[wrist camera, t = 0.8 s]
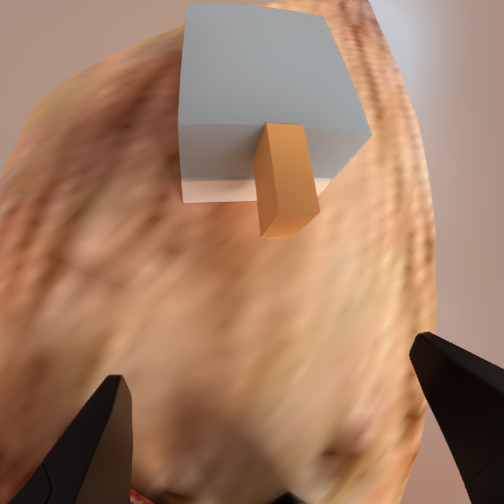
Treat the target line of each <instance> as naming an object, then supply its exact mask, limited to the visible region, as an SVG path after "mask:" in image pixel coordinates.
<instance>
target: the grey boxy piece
mask: <svg viewBox="0 0 504 504" xmlns="http://www.w3.org/2000/svg"><path fill="white" fill-rule="evenodd" d="M371 136H372V134H371V131H370V128H369V125H368V122H367V119H366V116H365V114H364V111H363V108H362V105H361V102H360V100H359V97H358V95H357V92H356V89H355V87H354V84H353V82H352V79H351V77H350V74H349V72H348V70H347V67H346V65H345V62H344V60H343V58H342V56H341V53H340V51H339V49H338V47H337V45H336V42H335V40H334V38H333V36H332V34H331V32H330V30H329V28H328V26H327V24H326V22H325V20H324V18H323V17H322V16H318V15H313V14H307V13H302V12H296V11H290V10H283V9H276V8H268V7H259V6H248V5H234V4H188V5H187V13H186V21H185V30H184V40H183V50H182V62H181V75H180V90H179V108H178V140H179V156H180V171H181V179H184V178H214V177H255V186H256V195H257V204H258V214H259V223H260V233H261V238H266V237H292V236H295V235H296V234H298V233H299V232H300V231H301V230H302V229H303V228H304V227H305V226H306V225H307V224H308V223H309V222H310V221H311V220H312V219H313V218H314V217H315V216H316V215H317V214H318V213H319V212H320V209H319V203H318V198H317V192H316V187H315V181H314V178H329V179H333V178H334V177H335V176H336V175H337V174H338V173H339V172H340V171H341V169H342V168H343V167H344V166H345V165H346V164H347V163H348V162H349V160H350V159H351V158H352V157H353V156H354V155H355V154H356V153H357V152H358V150H359V149H360V148H361V147H362V146H363V145H364V144H365V143H366V141H367V140H368V139H369V138H370V137H371Z"/></svg>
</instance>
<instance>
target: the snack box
mask: <svg viewBox="0 0 504 504" xmlns="http://www.w3.org/2000/svg"><path fill="white" fill-rule="evenodd" d="M130 504H156V503H154V502H152V501H151V500H149V499H147V498H146V497H144V496H143V495H141V494H140V493H138V492H137V491H135V490H134V489H132V488H131V497H130Z"/></svg>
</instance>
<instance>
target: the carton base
mask: <svg viewBox="0 0 504 504" xmlns="http://www.w3.org/2000/svg"><path fill="white" fill-rule="evenodd" d="M314 181H315V187H316V192H317V196H318V195H319V194H320V193H321V192H322V191H323V190H324V188H325V187H326V186H327V185H328V184H329V183H330V182H331V181H330V179H329V178H314ZM181 184H182V196H183V203H201V202H233V201H257V195H256V186H255V177H214V178H184V179H181Z"/></svg>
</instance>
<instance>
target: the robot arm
mask: <svg viewBox="0 0 504 504" xmlns="http://www.w3.org/2000/svg"><path fill="white" fill-rule="evenodd" d="M409 356H410V360H411V362H412V365H413V367H414V370H415V372H416V375H417V378H418V380H419V383H420V385H421V388H422V391H423V393H424V395H425V397H426V400H427V402H428V404H429V406H430V408H431V410H432V412H433V414H434V416H435V418H436V420H437V422H438V424H439V427H440V429H441V431H442V433H443V435H444V437H445V440H446V442H447V444H448V446H449V449H450V451H451V453H452V455H453V458H454V460H455V463H456V465H457V467H458V469H459V472H460V475H461V477H462V480H463V482H464V484H465V488H466V490H467V493H468V496H469V498H470V501H471V504H504V369H502V368H500V367H498V366H496V365H494V364H492V363H491V362H489V361H486V360H484V359H483V358H480V357H478V356H477V355H475V354H472V353H471V352H468V351H467V350H465V349H462V348H460V347H459V346H456V345H454V344H452V343H450V342H448V341H446V340H444V339H442V338H440V337H438V336H436V335H434V334H432V333H430V332H423V333H419V334H418V335H417V336H416V337H415V340H414V342H413V345H412V347H411V350H410V353H409ZM132 455H133V433H132V398H131V393H130V391H129V388H128V386H127V384H126V381H125V379H124V377H123V376H122V375H108V376H107V377H106V378H105V379H104V381H103V382H102V383H101V384H100V386H99V387H98V388H97V390H96V391H95V392H94V393H93V395H92V396H91V397H90V398H89V400H88V401H87V402H86V404H85V405H84V406H83V407H82V409H81V410H80V411H79V413H78V414H77V415H76V417H75V418H74V419H73V420H72V422H71V423H70V424H69V426H68V427H67V428H66V430H65V431H64V432H63V434H62V435H61V436H60V438H59V439H58V440H57V442H56V443H55V444H54V446H53V447H52V448H51V450H50V451H49V452H48V454H47V455H46V456H45V458H44V459H43V462H41V463H40V464H39V466H38V467H37V468H36V470H35V471H34V472H33V474H32V475H31V476H30V478H29V479H28V480H27V482H26V483H25V484H24V485H23V486H22V487H21V489H20V490H19V491H18V492H17V493H16V494H15V495H14V497H13V498H12V499H11V500H10V501H9V502H8V503H7V504H130V497H131V472H132ZM287 497H290V498H289V499H286V498H287ZM272 504H305V503H304V502H303V501H301V500H300V499H298V498H297V497H296V496H294V495H293V494H292V493H285V494H284V495H282V496H281V497H280V498H278V499H277V500H276V501H274V502H273V503H272Z"/></svg>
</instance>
